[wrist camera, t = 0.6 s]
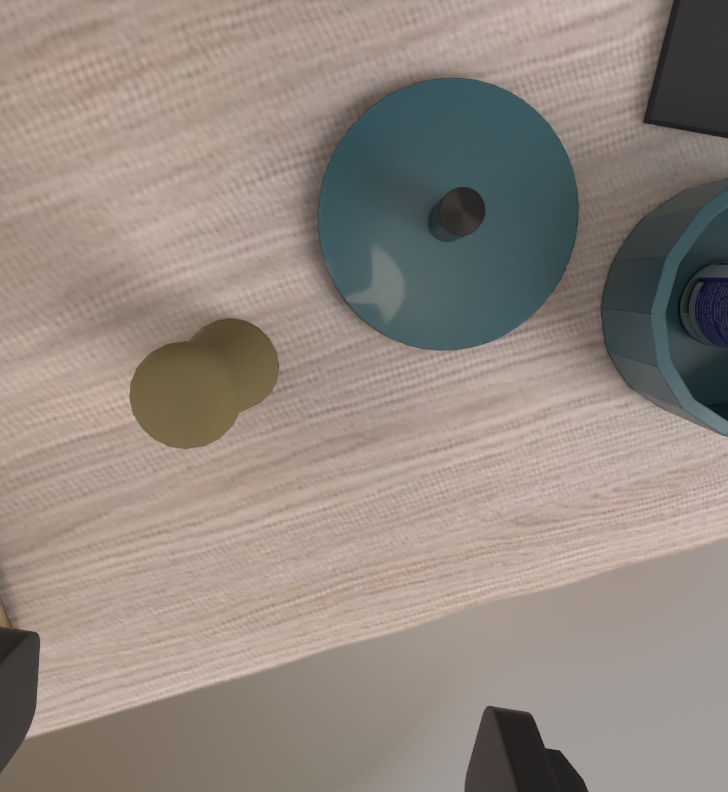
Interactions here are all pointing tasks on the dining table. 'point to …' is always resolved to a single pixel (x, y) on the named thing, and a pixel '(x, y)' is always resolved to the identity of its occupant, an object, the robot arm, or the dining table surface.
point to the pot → (670, 307)
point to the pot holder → (693, 70)
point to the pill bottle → (707, 305)
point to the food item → (4, 617)
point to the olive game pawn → (203, 383)
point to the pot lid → (448, 214)
